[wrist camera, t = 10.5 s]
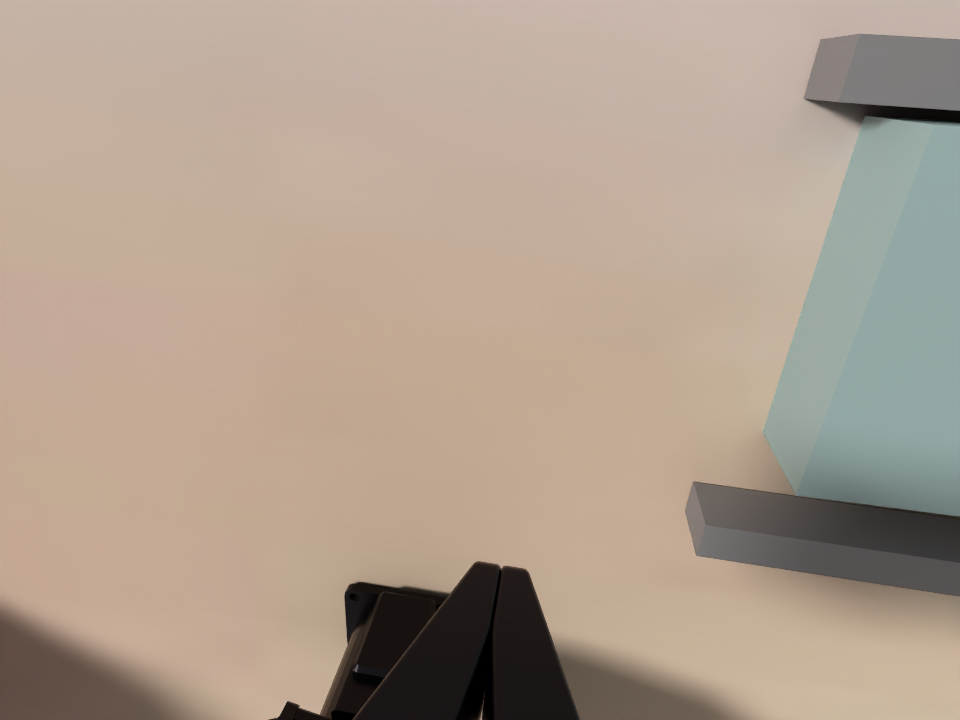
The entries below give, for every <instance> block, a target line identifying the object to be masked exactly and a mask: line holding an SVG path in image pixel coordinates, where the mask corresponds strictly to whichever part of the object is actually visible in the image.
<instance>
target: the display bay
mask: <svg viewBox="0 0 960 720" xmlns="http://www.w3.org/2000/svg"><path fill="white" fill-rule="evenodd" d="M804 99H812V100H822V101H832V102H843V103H857V104H871V105H886V106H900V107H914V108H929V109H943V110H957V111H960V40H958V39H941V38H924V37H906V36H889V35H872V34H856V35H849V36H842V37H835V38H829V39H822V40H821V41H820V44H819V48H818V51H817V55H816V58H815V62H814V65H813V69H812V72H811V76H810V79H809V83H808V86H807V89H806V93H805V96H804ZM685 512H686V516H687V520H688V524H689V528H690V533H691V537H692V541H693V545H694V549H695V553H696V556H701V557H708V558H714V559H721V560H727V561H734V562H740V563H746V564H753V565H759V566H766V567H772V568H779V569H785V570H792V571H798V572H805V573H811V574H818V575H824V576H831V577H837V578H844V579H850V580H857V581H863V582H870V583H876V584H883V585H889V586H896V587H902V588H908V589H915V590H921V591H928V592H934V593H941V594H947V595H954V596H960V519H953V518H946V517H939V516H932V515H925V514H918V513H911V512H904V511H896V510H889V509H882V508H875V507H868V506H861V505H854V504H847V503H840V502H833V501H825V500H818V499H811V498H804V497H797V496H790V495H783V494H776V493H769V492H762V491H755V490H747V489H740V488H733V487H726V486H719V485H712V484H705V483H698V482H693V485H692V489H691V492H690V496H689V499H688V503H687V506H686V510H685Z"/></svg>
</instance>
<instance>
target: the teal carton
mask: <svg viewBox="0 0 960 720" xmlns="http://www.w3.org/2000/svg"><path fill="white" fill-rule="evenodd" d="M763 434H764V436H765V438H766V440H767V442H768V443H769V445H770V447H771V449H772V451H773V453H774V455H775V457H776V459H777V461H778V462H779V464H780V466H781V468H782V470H783V472H784V474H785V476H786V478H787V480H788V481H789V483H790V485H791V487H792V489H793V491H794V493H795V495H797V496H805V497H813V498H820V499H828V500H836V501H843V502H851V503H859V504H867V505H874V506H882V507H890V508H898V509H905V510H913V511H921V512H929V513H936V514H944V515H952V516H960V121H947V120H930V119H913V118H896V117H878V116H864V119H863V122H862V125H861V128H860V132H859V135H858V138H857V141H856V144H855V147H854V150H853V153H852V156H851V159H850V163H849V166H848V169H847V172H846V175H845V178H844V181H843V184H842V187H841V190H840V194H839V197H838V200H837V203H836V206H835V209H834V212H833V215H832V218H831V221H830V225H829V228H828V231H827V234H826V237H825V240H824V243H823V246H822V249H821V253H820V256H819V259H818V262H817V265H816V268H815V271H814V274H813V277H812V280H811V284H810V287H809V290H808V293H807V296H806V299H805V302H804V305H803V308H802V311H801V315H800V318H799V321H798V324H797V327H796V330H795V333H794V336H793V339H792V342H791V346H790V349H789V352H788V355H787V358H786V361H785V364H784V367H783V370H782V374H781V377H780V380H779V383H778V386H777V389H776V392H775V395H774V398H773V401H772V405H771V408H770V411H769V414H768V417H767V420H766V423H765V426H764V429H763Z"/></svg>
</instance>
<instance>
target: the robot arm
mask: <svg viewBox="0 0 960 720" xmlns="http://www.w3.org/2000/svg"><path fill="white" fill-rule="evenodd" d="M345 611H346V627H347V642H348V646H347V648H346V651H345V653H344V656H343V658H342V661H341V663H340V666H339V668H338V671H337V673H336V676H335V678H334V681H333V683H332V686H331V688H330V690H329V693H328V695H327V698H326V700H325V703H324V705H323V708H322V710H321V713H320V715H319V714H316V713H313V712H310V711H307V710H304V709H301V708H299V706H300V705H298V704H295V703H292V702H289V701H287V703H286V705H285V707H284V709H283V711H282V713H281V714H280V716H279V717H278V718H274V719H270V720H480V717H481V712H482V706H483V714H482V720H580V718H579V715H578V712H577V709H576V706H575V703H574V701H573V698H572V695H571V692H570V689H569V686H568V683H567V680H566V678H565V675H564V672H563V669H562V666H561V663H560V660H559V658H558V655H557V652H556V649H555V646H554V643H553V640H552V637H551V635H550V632H549V629H548V626H547V623H546V620H545V617H544V614H543V612H542V609H541V606H540V603H539V600H538V597H537V594H536V592H535V589H534V586H533V583H532V580H531V577H530V574H529V572H528V571H527V570H526V569H523V568H517V567H511V566H504V567H502V569H501V568H500V566H499V565H498V564H493V563H487V562H480V561H477V562H475V563H474V564H473V565H472V566H471V568H470V569H469V570H468V571H467V573H466V574H465V575H464V577H463V578H462V579H461V580H460V582H459V583H458V584H457V586H456V587H455V588H454V590H453V591H452V592H451V593H450V595H449V596H448V597H447V599H444V598H438V597H432V596H426V595H421V594H415V593H409V592H403V591H397V590H391V589H385V588H379V587H374V586H368V585H362V584H350V585H349V586H348V588H347V590H346V592H345ZM484 694H485V695H484ZM483 700H484V705H483Z"/></svg>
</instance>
